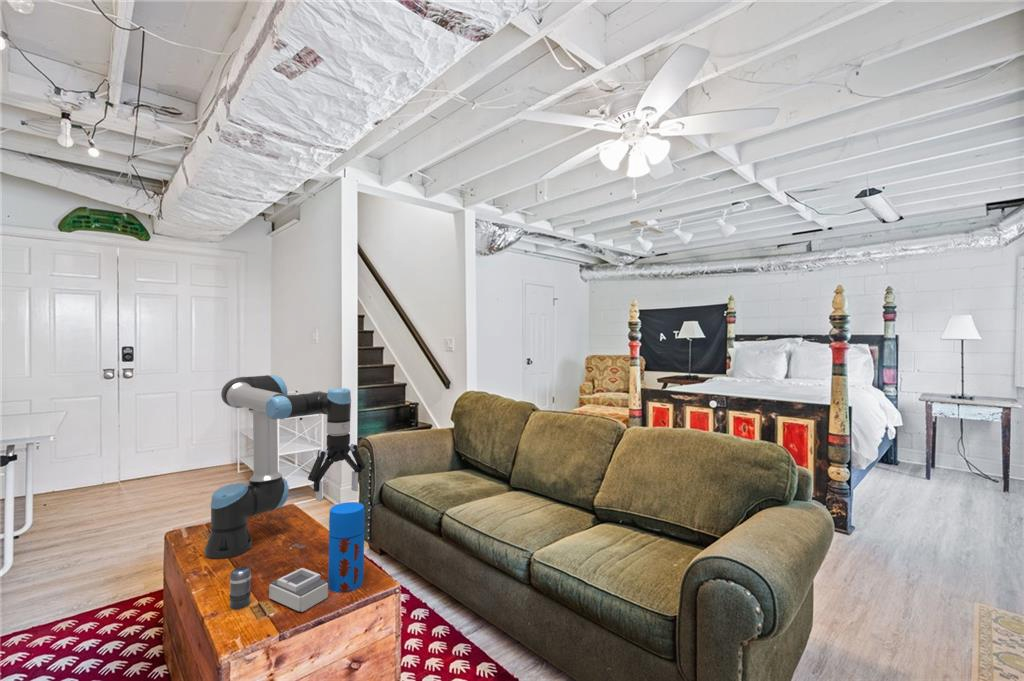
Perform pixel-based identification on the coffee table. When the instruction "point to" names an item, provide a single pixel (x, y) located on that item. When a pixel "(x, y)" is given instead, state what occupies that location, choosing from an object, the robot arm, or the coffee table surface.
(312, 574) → the grey square frame
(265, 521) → the coffee table surface
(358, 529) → the thermos
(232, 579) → the lens
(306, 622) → the coffee table surface
